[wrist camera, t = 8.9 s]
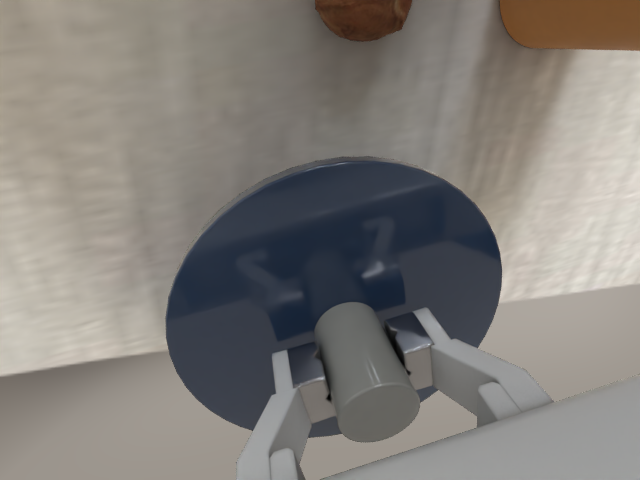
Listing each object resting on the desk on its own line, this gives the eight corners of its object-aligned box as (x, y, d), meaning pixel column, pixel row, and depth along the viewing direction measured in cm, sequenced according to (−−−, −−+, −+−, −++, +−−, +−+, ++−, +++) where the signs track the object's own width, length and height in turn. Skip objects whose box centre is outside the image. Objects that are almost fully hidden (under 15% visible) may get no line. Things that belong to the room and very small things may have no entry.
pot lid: (127, 168, 10) (54, 251, 6) (514, 136, 12) (655, 183, 8) (204, 436, 16) (193, 572, 12) (458, 386, 18) (524, 488, 14)
